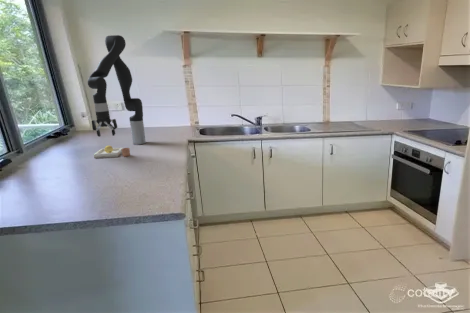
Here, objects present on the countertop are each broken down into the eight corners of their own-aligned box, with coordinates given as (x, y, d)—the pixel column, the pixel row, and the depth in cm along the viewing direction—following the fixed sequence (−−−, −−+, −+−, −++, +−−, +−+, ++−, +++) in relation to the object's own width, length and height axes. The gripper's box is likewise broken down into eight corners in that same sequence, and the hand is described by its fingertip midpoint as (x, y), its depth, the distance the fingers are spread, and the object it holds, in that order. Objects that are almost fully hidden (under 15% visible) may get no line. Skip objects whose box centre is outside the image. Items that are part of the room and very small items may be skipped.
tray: (101, 152, 184) (101, 148, 184) (123, 151, 186) (123, 147, 185) (94, 158, 171) (93, 154, 170) (117, 156, 173) (117, 152, 172)
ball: (106, 152, 180) (105, 144, 179) (114, 151, 181) (113, 144, 179) (104, 154, 175) (102, 146, 174) (112, 153, 176) (110, 146, 175)
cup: (123, 155, 176) (122, 148, 175) (131, 154, 177) (130, 147, 175) (121, 157, 172) (120, 149, 170) (129, 156, 172) (128, 149, 171)
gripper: (115, 109, 175) (119, 134, 180) (92, 110, 173) (96, 135, 178) (112, 110, 168) (116, 136, 173) (87, 111, 166) (92, 138, 171)
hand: (106, 135), depth 175 cm, fingers open, 8 cm apart
